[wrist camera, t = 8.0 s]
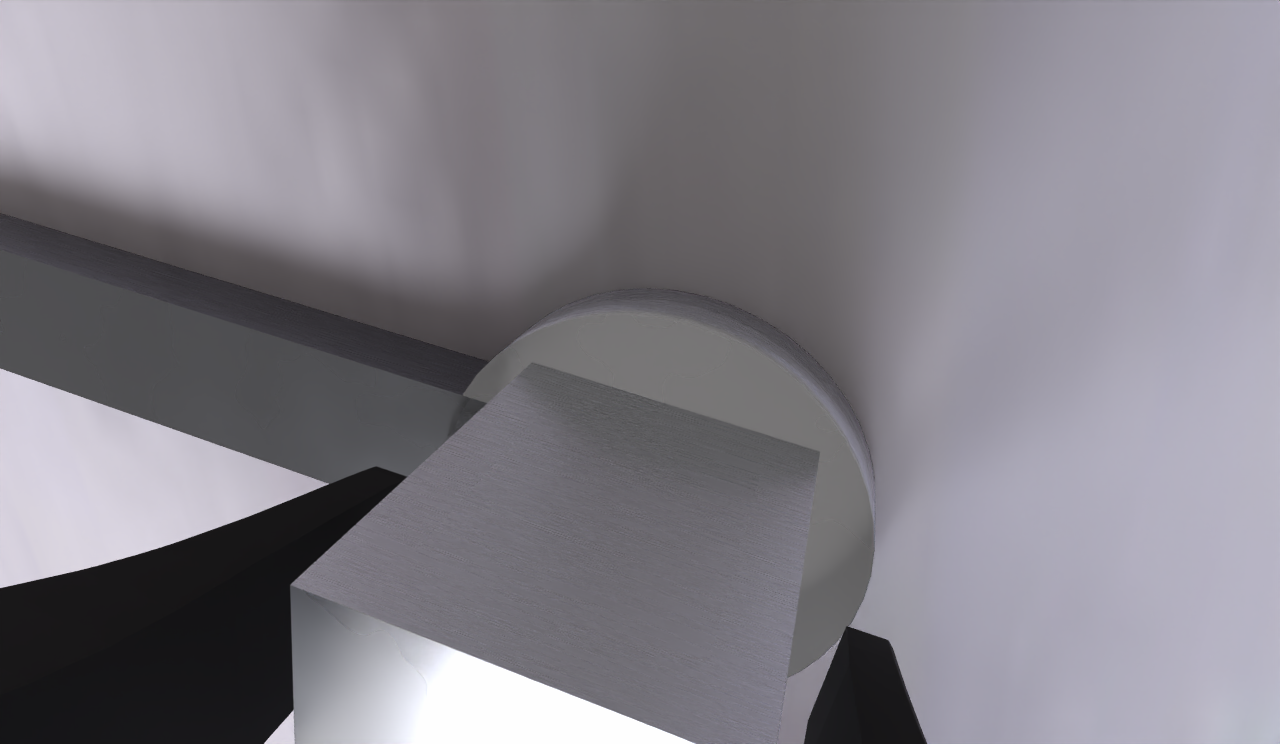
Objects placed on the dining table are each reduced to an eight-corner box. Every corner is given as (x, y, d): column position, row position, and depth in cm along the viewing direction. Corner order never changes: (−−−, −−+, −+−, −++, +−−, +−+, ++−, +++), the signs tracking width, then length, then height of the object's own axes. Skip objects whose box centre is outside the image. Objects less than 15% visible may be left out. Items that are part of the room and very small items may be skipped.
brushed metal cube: (742, 671, 14) (661, 1042, 9) (502, 581, 15) (298, 872, 10) (820, 451, 12) (773, 773, 7) (532, 362, 13) (289, 584, 8)
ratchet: (806, 693, 16) (778, 942, 12) (17, 409, 20) (-231, 515, 15) (939, 358, 12) (972, 533, 8) (-55, 89, 16) (-404, 107, 12)
